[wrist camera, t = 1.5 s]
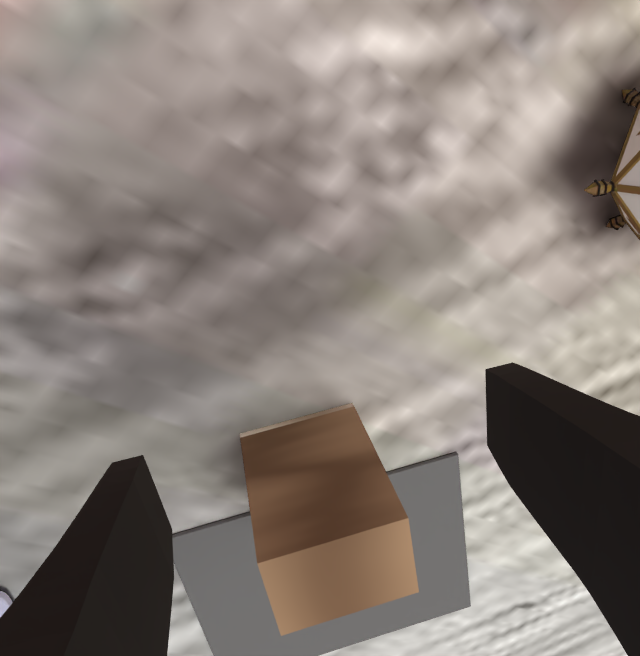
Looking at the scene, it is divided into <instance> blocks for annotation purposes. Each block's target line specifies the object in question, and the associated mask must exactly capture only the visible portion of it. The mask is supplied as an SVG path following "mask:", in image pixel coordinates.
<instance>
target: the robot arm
mask: <svg viewBox="0 0 640 656" xmlns="http://www.w3.org/2000/svg"><path fill="white" fill-rule="evenodd" d="M486 410H487V446H488V448H489V449H490V451H491V453H492V455H493V457H494V459H495V460H496V462H497V464H498V466H499V468H500V469H501V471H502V473H503V475H504V476H505V478H506V480H507V481H508V483H509V485H510V486H511V488H512V489H513V490H514V492H515V493H516V495H517V496H518V497H519V499H520V500H521V501H522V503H523V504H524V505H525V507H526V508H527V509H528V511H529V512H530V513H531V515H532V516H533V517H534V519H535V520H536V521H537V523H538V524H539V525H540V527H541V528H542V529H543V531H544V532H545V533H546V534H547V536H548V537H549V538H550V540H551V541H552V542H553V544H554V545H555V546H556V548H557V549H558V550H559V552H560V553H561V554H562V556H563V557H564V558H565V560H566V561H567V562H568V563H569V565H570V566H571V567H572V569H573V570H574V571H575V573H576V574H577V576H578V577H579V578H580V580H581V581H582V583H583V584H584V586H585V587H586V588H587V590H588V591H589V593H590V594H591V596H592V597H593V599H594V601H595V602H596V604H597V606H598V607H599V609H600V610H601V612H602V614H603V615H604V617H605V619H606V620H607V622H608V623H609V625H610V627H611V628H612V630H613V632H614V633H615V635H616V636H617V638H618V640H619V641H620V643H621V645H622V646H623V648H624V650H625V652H626V653H627V655H628V656H640V416H638V415H635V414H632V413H630V412H627V411H625V410H622V409H620V408H617V407H615V406H612V405H610V404H607V403H605V402H603V401H600V400H598V399H596V398H593V397H591V396H589V395H586V394H584V393H582V392H580V391H577V390H575V389H573V388H571V387H568V386H566V385H564V384H562V383H559V382H557V381H555V380H553V379H550V378H548V377H546V376H544V375H541V374H539V373H537V372H535V371H532V370H530V369H528V368H525V367H523V366H520V365H518V364H515V363H509V364H505V365H501V366H497V367H493V368H489V369H486ZM173 581H174V565H173V539H172V528H171V525H170V523H169V520H168V517H167V515H166V512H165V510H164V507H163V505H162V502H161V500H160V497H159V495H158V492H157V489H156V487H155V484H154V482H153V479H152V477H151V474H150V472H149V469H148V467H147V464H146V461H145V459H144V456H143V455H141V456H137V457H133V458H129V459H125V460H121V461H117V462H113V463H112V464H111V465H110V467H109V468H108V469H107V471H106V472H105V474H104V475H103V477H102V478H101V480H100V481H99V483H98V484H97V486H96V487H95V489H94V490H93V492H92V493H91V495H90V496H89V498H88V499H87V501H86V502H85V504H84V505H83V507H82V509H81V510H80V512H79V513H78V515H77V516H76V518H75V519H74V520H73V522H72V523H71V525H70V526H69V528H68V529H67V531H66V532H65V534H64V535H63V536H62V538H61V539H60V541H59V542H58V544H57V545H56V547H55V548H54V549H53V551H52V552H51V553H50V555H49V556H48V557H47V559H46V560H45V561H44V563H43V564H42V565H41V567H40V568H39V569H38V571H37V572H36V573H35V575H34V576H33V577H32V579H31V580H30V581H29V583H28V584H27V585H26V587H25V588H24V589H23V590H22V592H21V593H20V594H19V596H18V597H17V598H16V599H15V600H14V602H12V600H11V599H10V597H9V596H8V595H7V594H6V593H5V592H2V591H0V656H167V650H168V639H169V628H170V617H171V606H172V594H173Z"/></svg>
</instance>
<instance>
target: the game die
mask: <svg viewBox="0 0 640 656" xmlns="http://www.w3.org/2000/svg"><path fill="white" fill-rule="evenodd" d="M622 93H623V98H624V101H623V103H628V106H635V107H636V108H637V109H636V112H635V114H634V117H633V120H632V123H631V126H630V129H629V131H628V134H627V137H626V140H625V143H624V145H623V148H622V151H621V154H620V157H619V160H618V162H617V165H616V168H615V171H614V174H613V176H612V179H611V181H610V182H606V181H604V179H602V180H601V181H597V180H594V182H593V183H592V184H591V185H590V186H589V187H587V188H586V189H585V190H584V191H586V192H588V193H590V194H592V195H593V197H595V196H601V195H606V194H607V193H608V192H611V194H612V196H613V198H614V201H615V203H616V205H617V207H618V209H619V211H620V213H621V215H622V216H621V215H618V216H615V217H613V218H610V219H609V223H608V224H607V226H606V227H610V228H614V229H616V230H618V229H619V228H620V227H621V228H623V226H624V224H627V225H628V226H629V227H630V229H631V230H632V231H633V232H634V234H635V235H636V236H637V237H638V239H639V240H640V92H639V93H638V92H637V91H636V88H634V89H630V90H622Z"/></svg>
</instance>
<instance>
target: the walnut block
mask: <svg viewBox="0 0 640 656" xmlns="http://www.w3.org/2000/svg"><path fill="white" fill-rule="evenodd" d="M240 441H241V448H242V455H243V463H244V470H245V477H246V485H247V492H248V499H249V507H250V514H251V521H252V529H253V536H254V544H255V551H256V558H257V564H258V567H259V571H260V574H261V577H262V580H263V583H264V586H265V589H266V592H267V595H268V598H269V601H270V604H271V607H272V610H273V613H274V616H275V619H276V622H277V625H278V628H279V631H280V634H281V636H283V635H286V634H289V633H292V632H295V631H298V630H301V629H305V628H308V627H311V626H314V625H317V624H320V623H323V622H327V621H330V620H333V619H336V618H339V617H342V616H345V615H349V614H352V613H355V612H358V611H361V610H364V609H367V608H371V607H374V606H377V605H380V604H383V603H386V602H389V601H393V600H396V599H399V598H402V597H405V596H408V595H411V594H415V593H418V592H419V589H418V582H417V575H416V568H415V561H414V554H413V547H412V540H411V533H410V526H409V519H408V516H407V514H406V512H405V510H404V508H403V506H402V504H401V502H400V500H399V498H398V496H397V494H396V491H395V489H394V487H393V485H392V483H391V481H390V479H389V477H388V475H387V473H386V471H385V469H384V467H383V465H382V463H381V461H380V459H379V457H378V455H377V452H376V450H375V448H374V446H373V444H372V442H371V440H370V438H369V436H368V434H367V432H366V430H365V428H364V426H363V424H362V422H361V420H360V418H359V416H358V413H357V411H356V409H355V407H354V405H353V403H350V404H346V405H343V406H339V407H335V408H332V409H328V410H324V411H321V412H317V413H313V414H310V415H306V416H302V417H299V418H295V419H291V420H288V421H284V422H280V423H277V424H273V425H270V426H266V427H262V428H259V429H255V430H251V431H248V432H244V433H240Z"/></svg>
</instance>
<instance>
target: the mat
mask: <svg viewBox="0 0 640 656" xmlns="http://www.w3.org/2000/svg"><path fill="white" fill-rule="evenodd" d="M387 475H388V477H389V479H390V481H391V483H392V485H393V487H394V489H395V491H396V494H397V496H398V498H399V500H400V502H401V504H402V506H403V508H404V510H405V512H406V514H407V516H408V519H409V526H410V533H411V540H412V547H413V554H414V561H415V568H416V575H417V582H418V589H419V592H418V593H415V594H411V595H408V596H405V597H402V598H399V599H396V600H393V601H389V602H386V603H383V604H380V605H377V606H374V607H371V608H367V609H364V610H361V611H358V612H355V613H352V614H349V615H345V616H342V617H339V618H336V619H333V620H330V621H327V622H323V623H320V624H317V625H314V626H311V627H308V628H305V629H301V630H298V631H295V632H292V633H289V634H286V635H283V636H281V634H280V631H279V628H278V625H277V622H276V619H275V616H274V613H273V610H272V607H271V604H270V601H269V598H268V595H267V592H266V589H265V586H264V583H263V580H262V577H261V574H260V571H259V567H258V564H257V558H256V551H255V544H254V536H253V529H252V521H251V514H250V512H249V513H245V514H242V515H238V516H235V517H232V518H228V519H225V520H221V521H218V522H214V523H211V524H207V525H204V526H201V527H197V528H194V529H190V530H187V531H183V532H180V533H176V534H173V535H172V539H173V561H174V564H175V566H176V569H177V571H178V573H179V576H180V578H181V580H182V583H183V585H184V587H185V590H186V592H187V594H188V597H189V599H190V601H191V604H192V606H193V608H194V611H195V613H196V615H197V618H198V620H199V622H200V625H201V627H202V629H203V632H204V634H205V637H206V639H207V641H208V644H209V646H210V648H211V651H212V653H213V655H214V656H318V655H322V654H325V653H328V652H331V651H334V650H337V649H340V648H343V647H346V646H349V645H352V644H356V643H359V642H362V641H365V640H368V639H371V638H374V637H377V636H380V635H383V634H386V633H390V632H393V631H396V630H399V629H402V628H405V627H408V626H411V625H414V624H417V623H421V622H424V621H427V620H430V619H433V618H436V617H439V616H442V615H445V614H448V613H451V612H455V611H458V610H461V609H464V608H467V607H470V606H471V605H470V593H469V581H468V568H467V556H466V544H465V532H464V520H463V508H462V496H461V483H460V471H459V459H458V454H457V452H455V453H452V454H449V455H445V456H442V457H438V458H435V459H431V460H428V461H424V462H421V463H418V464H414V465H411V466H407V467H404V468H400V469H397V470H393V471H390V472H387Z"/></svg>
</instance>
